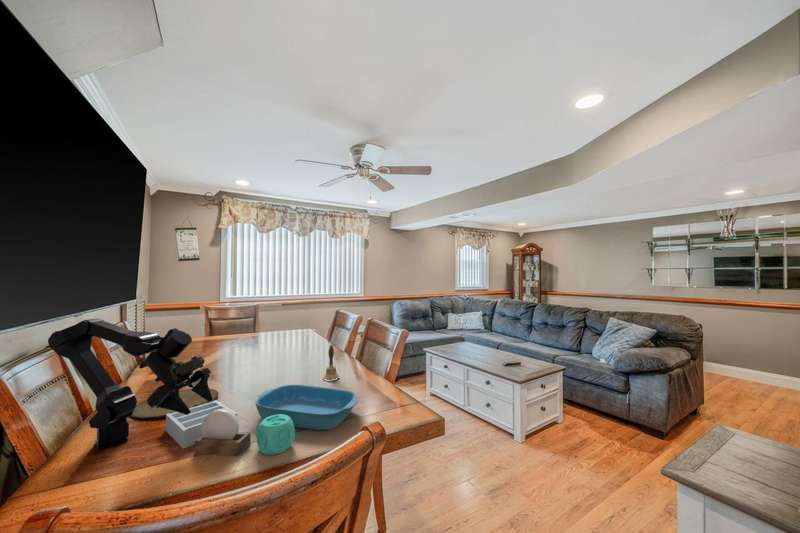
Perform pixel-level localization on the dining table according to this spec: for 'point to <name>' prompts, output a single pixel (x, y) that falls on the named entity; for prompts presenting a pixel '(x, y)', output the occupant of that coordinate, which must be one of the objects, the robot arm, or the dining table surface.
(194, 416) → the rack
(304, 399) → the casserole dish
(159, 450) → the dining table surface
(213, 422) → the plate
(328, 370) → the hand bell
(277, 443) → the decorative dice
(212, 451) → the stand
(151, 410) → the decorative disc
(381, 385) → the dining table surface
